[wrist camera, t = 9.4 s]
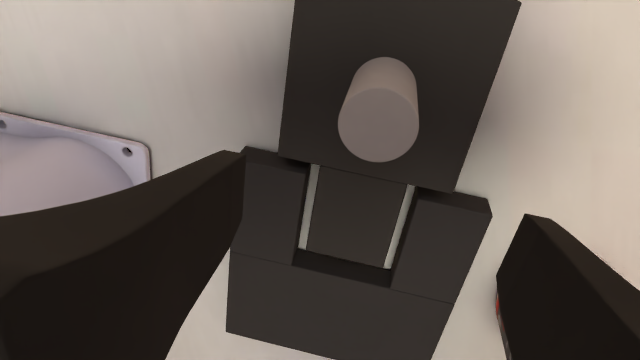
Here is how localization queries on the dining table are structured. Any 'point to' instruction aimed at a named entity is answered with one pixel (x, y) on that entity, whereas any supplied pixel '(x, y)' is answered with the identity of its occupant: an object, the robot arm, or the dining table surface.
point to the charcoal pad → (346, 272)
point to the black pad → (441, 106)
